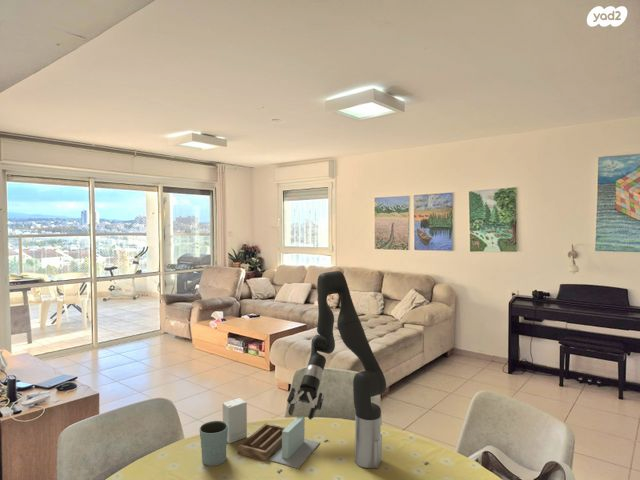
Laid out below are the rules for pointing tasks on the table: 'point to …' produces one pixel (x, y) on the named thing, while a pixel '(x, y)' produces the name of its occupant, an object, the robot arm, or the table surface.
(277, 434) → the walnut box
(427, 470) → the table surface
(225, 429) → the grey-green cup
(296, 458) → the grey mat
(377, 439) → the robot arm
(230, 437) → the skincare box
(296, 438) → the cover plate
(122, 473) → the table surface
